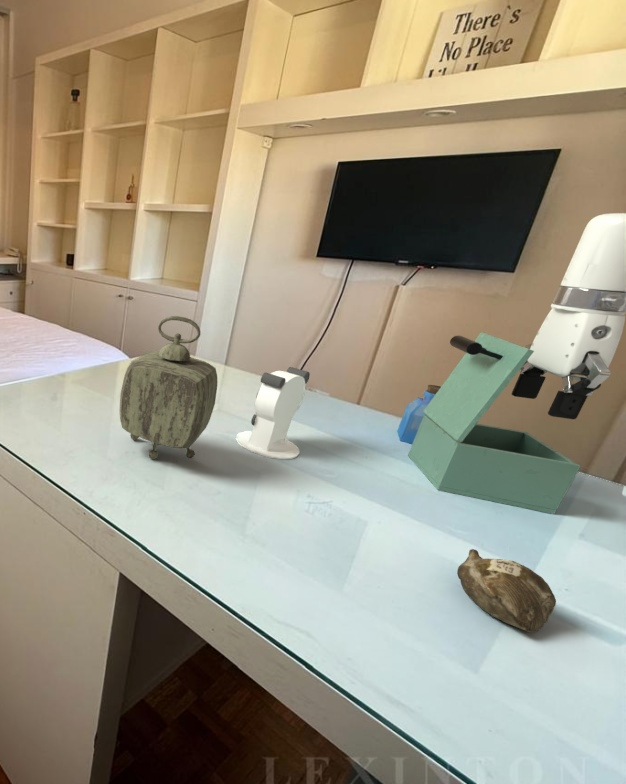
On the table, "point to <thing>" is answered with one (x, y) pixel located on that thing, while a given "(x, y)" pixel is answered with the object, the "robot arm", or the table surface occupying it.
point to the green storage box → (494, 465)
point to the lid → (475, 382)
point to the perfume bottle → (415, 415)
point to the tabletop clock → (168, 395)
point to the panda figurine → (275, 414)
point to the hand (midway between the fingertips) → (541, 406)
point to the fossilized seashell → (507, 591)
